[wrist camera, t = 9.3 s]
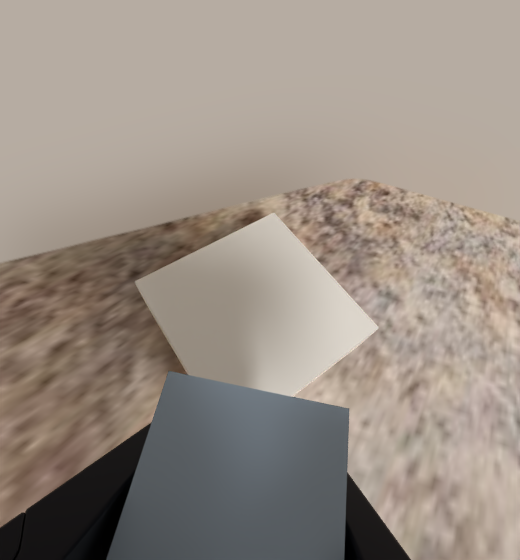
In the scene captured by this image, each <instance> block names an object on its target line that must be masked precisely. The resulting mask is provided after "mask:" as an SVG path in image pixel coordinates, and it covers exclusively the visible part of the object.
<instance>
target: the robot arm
mask: <svg viewBox="0 0 520 560" xmlns="http://www.w3.org/2000/svg"><path fill="white" fill-rule="evenodd" d="M151 423H152V422H151ZM151 423H150V424H149V425H147V426H146V427H144V428H143V429H141V430H140V431H139V432H137V433H136V434H134V435H133V436H131V437H130V438H129V439H127V440H126V441H124V442H123V443H121V444H120V445H118V446H117V447H116V448H114V449H113V450H111V451H110V452H108V453H107V454H106V455H104V456H103V457H101V458H100V459H98V460H97V461H95V462H94V463H93V464H91V465H90V466H88V467H87V468H85V469H84V470H83V471H81V472H80V473H78V474H77V475H75V476H74V477H73V478H71V479H70V480H68V481H67V482H65V483H64V484H62V485H61V486H60V487H58V488H57V489H55V490H54V491H52V492H51V493H50V494H48V495H47V496H45V497H44V498H42V499H41V500H40V501H38V502H37V503H35V504H34V505H32V506H31V507H29V508H28V509H27V510H26V512H25V513H24V512H23V513H21V514H19V515H18V516H16V517H15V518H13V519H12V520H11V521H9V522H8V523H6V524H5V525H3V526H2V527H0V560H106V559H107V556H108V553H109V550H110V547H111V544H112V541H113V538H114V535H115V532H116V529H117V526H118V523H119V520H120V517H121V514H122V511H123V508H124V505H125V502H126V499H127V496H128V493H129V490H130V487H131V484H132V481H133V477H134V474H135V471H136V468H137V465H138V462H139V459H140V456H141V453H142V450H143V447H144V444H145V441H146V438H147V435H148V432H149V429H150V426H151ZM344 560H411V559H410V558H409V556H408V555H407V554H406V552H405V551H404V550H403V548H402V547H401V545H400V544H399V543H398V541H397V540H396V539H395V537H394V536H393V534H392V533H391V532H390V530H389V529H388V528H387V526H386V525H385V523H384V522H383V521H382V519H381V518H380V517H379V515H378V514H377V512H376V511H375V510H374V508H373V507H372V506H371V504H370V503H369V501H368V500H367V499H366V497H365V496H364V495H363V493H362V492H361V490H360V489H359V488H358V486H357V485H356V484H355V482H354V481H353V479H352V478H351V477H350V475H349V474H348V473H347V490H346V520H345V550H344Z"/></svg>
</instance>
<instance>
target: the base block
mask: <svg viewBox="0 0 520 560" xmlns="http://www.w3.org/2000/svg"><path fill="white" fill-rule="evenodd" d="M134 282H135V284H136V286H137V288H138V290H139V292H140V294H141V296H142V298H143V299H144V301H145V303H146V305H147V307H148V308H149V310H150V312H151V313H152V315H153V317H154V319H155V320H156V322H157V324H158V325H159V327H160V329H161V330H162V332H163V334H164V335H165V337H166V339H167V341H168V342H169V344H170V346H171V347H172V349H173V351H174V352H175V354H176V356H177V357H178V359H179V361H180V363H181V364H182V366H183V368H184V369H185V371H186V373H187V374H188V375H191V376H195V377H200V378H205V379H210V380H214V381H219V382H224V383H229V384H234V385H238V386H243V387H248V388H253V389H257V390H262V391H267V392H272V393H276V394H281V395H286V396H291V397H293V396H294V395H296V394H297V393H298V392H300V391H301V390H302V389H303V388H305V387H306V386H307V385H309V384H310V383H311V382H312V381H314V380H315V379H316V378H318V377H319V376H320V375H322V374H323V373H324V372H325V371H327V370H328V369H329V368H331V367H332V366H333V365H334V364H336V363H337V362H338V361H340V360H341V359H342V358H343V357H345V356H346V355H347V354H349V353H350V352H351V351H352V350H354V349H355V348H356V347H358V346H359V345H360V344H361V343H362V342H364V341H365V340H366V339H367V338H368V337H369V336H370V335H372V334H373V333H374V332H375V331H376V330H377V329H378V328H379V327H378V326H377V325H376V324H375V323H374V322H373V321H372V320H371V319H370V318H369V316H368V315H367V314H366V313H365V312H364V311H363V310H362V309H361V308H360V307H359V305H358V304H357V303H356V302H355V301H354V300H353V299H352V298H351V297H350V296H349V294H348V293H347V292H346V291H345V290H344V289H343V288H342V287H341V286H340V285H339V283H338V282H337V281H336V280H335V279H334V278H333V277H332V276H331V275H330V274H329V272H328V271H327V270H326V269H325V268H324V267H323V266H322V265H321V264H320V263H319V261H318V260H317V259H316V258H315V257H314V256H313V255H312V254H311V253H310V252H309V250H308V249H307V248H306V247H305V246H304V245H303V244H302V243H301V242H300V241H299V240H298V238H297V237H296V236H295V235H294V234H293V233H292V232H291V231H290V230H289V229H288V227H287V226H286V225H285V224H284V223H283V222H282V221H281V220H280V219H279V218H278V216H277V215H276V214H275V213H272V214H270V215H268V216H266V217H264V218H262V219H260V220H258V221H256V222H254V223H252V224H250V225H248V226H246V227H244V228H242V229H239V230H237V231H235V232H233V233H231V234H229V235H227V236H225V237H223V238H221V239H219V240H217V241H215V242H213V243H211V244H209V245H207V246H205V247H203V248H201V249H199V250H197V251H195V252H193V253H191V254H189V255H187V256H185V257H183V258H181V259H179V260H177V261H175V262H173V263H171V264H169V265H167V266H165V267H163V268H161V269H159V270H157V271H155V272H153V273H151V274H149V275H146V276H144V277H142V278H140V279H138V280H136V281H134Z"/></svg>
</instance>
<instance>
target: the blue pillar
mask: <svg viewBox="0 0 520 560" xmlns="http://www.w3.org/2000/svg"><path fill="white" fill-rule="evenodd" d="M348 431H349V409H348V408H343V407H339V406H334V405H329V404H324V403H319V402H315V401H310V400H305V399H300V398H296V397H291V396H286V395H281V394H276V393H272V392H267V391H262V390H257V389H253V388H248V387H243V386H238V385H234V384H229V383H224V382H219V381H214V380H210V379H205V378H200V377H195V376H191V375H186V374H181V373H176V372H171V371H169V372H168V375H167V378H166V381H165V384H164V387H163V390H162V393H161V396H160V399H159V402H158V405H157V408H156V411H155V414H154V417H153V420H152V423H151V426H150V429H149V432H148V435H147V438H146V441H145V444H144V447H143V450H142V453H141V456H140V459H139V462H138V465H137V468H136V471H135V474H134V477H133V481H132V484H131V487H130V490H129V493H128V496H127V499H126V502H125V505H124V508H123V511H122V514H121V517H120V520H119V523H118V526H117V529H116V532H115V535H114V538H113V541H112V544H111V547H110V550H109V553H108V556H107V559H106V560H344V550H345V520H346V490H347V461H348Z"/></svg>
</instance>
